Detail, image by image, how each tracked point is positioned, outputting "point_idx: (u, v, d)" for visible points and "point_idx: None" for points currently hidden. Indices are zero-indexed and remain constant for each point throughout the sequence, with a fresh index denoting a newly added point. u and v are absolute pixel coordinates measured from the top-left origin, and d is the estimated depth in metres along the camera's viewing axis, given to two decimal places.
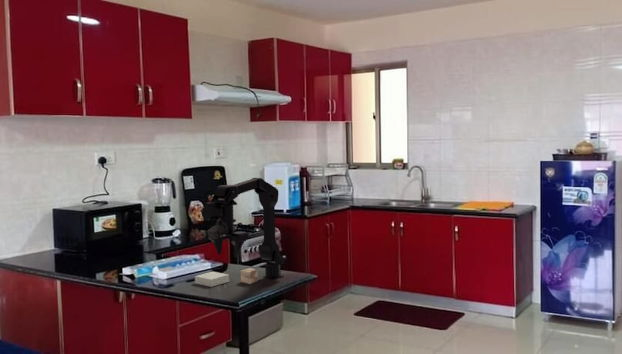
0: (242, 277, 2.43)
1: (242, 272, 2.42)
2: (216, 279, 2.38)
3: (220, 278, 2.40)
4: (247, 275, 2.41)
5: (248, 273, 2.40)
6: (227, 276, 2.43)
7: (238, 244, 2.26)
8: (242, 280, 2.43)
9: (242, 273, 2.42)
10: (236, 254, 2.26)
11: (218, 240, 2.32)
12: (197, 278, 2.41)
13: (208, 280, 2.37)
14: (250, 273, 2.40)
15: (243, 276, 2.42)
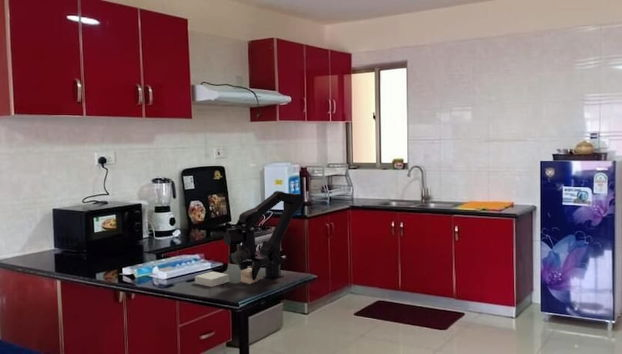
0: (242, 277, 2.42)
1: (242, 272, 2.42)
2: (216, 279, 2.38)
3: (220, 278, 2.40)
4: (247, 275, 2.41)
5: (248, 273, 2.40)
6: (227, 276, 2.43)
7: (256, 267, 2.41)
8: (242, 280, 2.43)
9: (242, 273, 2.42)
10: (254, 277, 2.41)
11: (243, 264, 2.45)
12: (197, 278, 2.41)
13: (208, 280, 2.37)
14: (250, 273, 2.40)
15: (243, 276, 2.42)
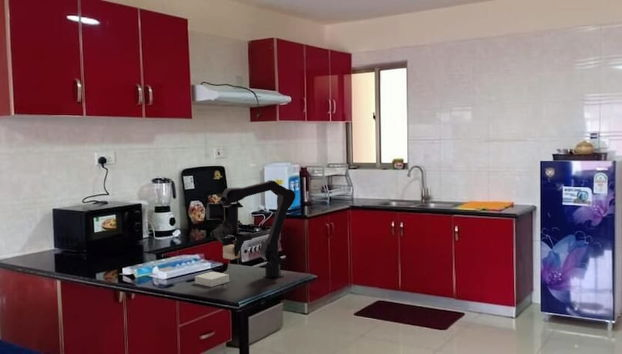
0: (224, 253, 2.41)
1: (224, 248, 2.41)
2: (216, 279, 2.38)
3: (220, 278, 2.40)
4: (229, 251, 2.39)
5: (230, 249, 2.39)
6: (227, 276, 2.43)
7: (238, 243, 2.40)
8: (224, 256, 2.41)
9: (224, 249, 2.41)
10: (236, 253, 2.40)
11: (226, 240, 2.44)
12: (197, 278, 2.41)
13: (208, 280, 2.37)
14: (232, 249, 2.39)
15: (225, 252, 2.41)
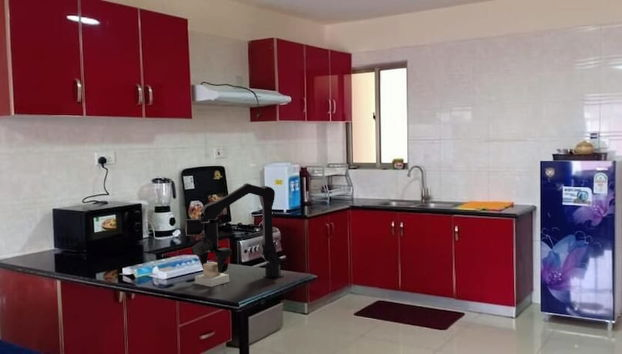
0: (204, 271, 2.42)
1: (204, 266, 2.41)
2: (216, 279, 2.38)
3: (220, 278, 2.40)
4: (209, 269, 2.40)
5: (210, 267, 2.39)
6: (227, 276, 2.43)
7: (222, 259, 2.39)
8: (204, 274, 2.42)
9: (204, 267, 2.41)
10: (220, 269, 2.39)
11: (203, 255, 2.45)
12: (197, 278, 2.41)
13: (208, 280, 2.37)
14: (212, 267, 2.40)
15: (205, 270, 2.41)
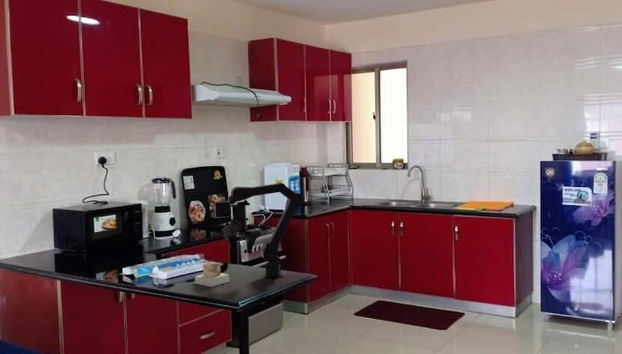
0: (204, 271, 2.42)
1: (204, 266, 2.41)
2: (216, 279, 2.38)
3: (220, 278, 2.40)
4: (209, 269, 2.40)
5: (210, 267, 2.39)
6: (227, 276, 2.43)
7: (251, 241, 2.43)
8: (204, 274, 2.42)
9: (204, 267, 2.41)
10: (249, 250, 2.44)
11: (232, 238, 2.50)
12: (197, 278, 2.41)
13: (208, 280, 2.37)
14: (212, 267, 2.40)
15: (205, 270, 2.41)
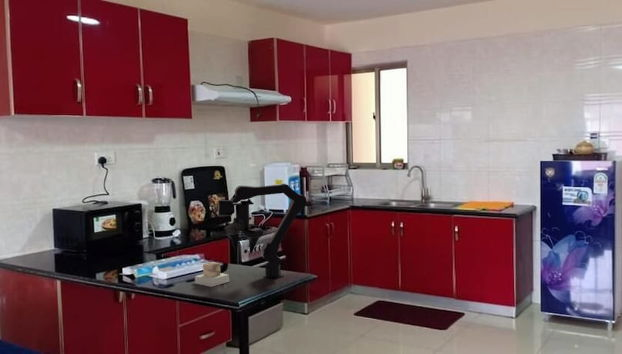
0: (204, 271, 2.42)
1: (204, 266, 2.41)
2: (216, 279, 2.38)
3: (220, 278, 2.40)
4: (209, 269, 2.40)
5: (210, 267, 2.39)
6: (227, 276, 2.43)
7: (253, 240, 2.44)
8: (204, 274, 2.42)
9: (204, 267, 2.41)
10: (251, 249, 2.44)
11: (234, 236, 2.50)
12: (197, 278, 2.41)
13: (208, 280, 2.37)
14: (212, 267, 2.40)
15: (205, 270, 2.41)
